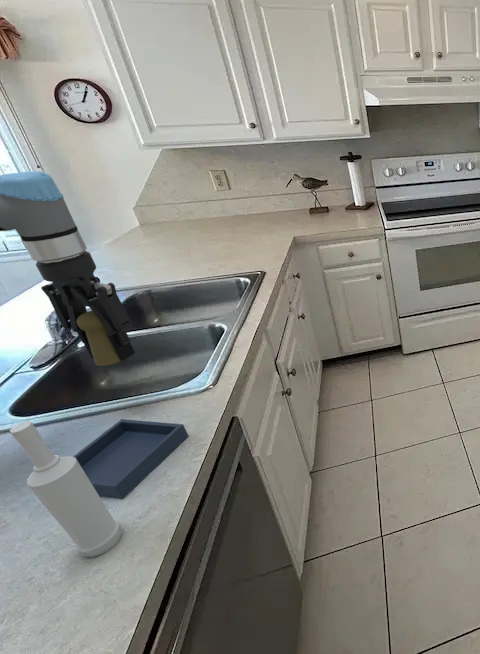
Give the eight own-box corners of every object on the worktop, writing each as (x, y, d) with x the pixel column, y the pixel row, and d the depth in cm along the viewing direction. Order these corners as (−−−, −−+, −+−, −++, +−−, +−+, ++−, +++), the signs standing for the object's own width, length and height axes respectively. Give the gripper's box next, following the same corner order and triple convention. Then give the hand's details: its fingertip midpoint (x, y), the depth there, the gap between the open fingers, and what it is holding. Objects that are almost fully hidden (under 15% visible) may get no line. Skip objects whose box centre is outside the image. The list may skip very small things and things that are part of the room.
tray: (53, 491, 75) (44, 478, 74) (128, 430, 88) (121, 418, 87) (122, 499, 73) (114, 486, 72) (188, 435, 86) (183, 424, 85)
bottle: (78, 566, 63) (-14, 448, 52) (84, 539, 67) (-2, 424, 56) (122, 545, 66) (42, 429, 55) (124, 520, 69) (51, 407, 59)
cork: (95, 356, 88) (71, 312, 83) (131, 345, 92) (110, 302, 87) (94, 369, 84) (69, 323, 79) (132, 357, 88) (110, 312, 83)
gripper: (125, 249, 80) (168, 347, 90) (40, 247, 82) (91, 344, 92) (86, 264, 74) (138, 369, 83) (-5, 262, 76) (56, 364, 85)
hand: (113, 355), depth 88 cm, fingers closed on cork, 6 cm apart
